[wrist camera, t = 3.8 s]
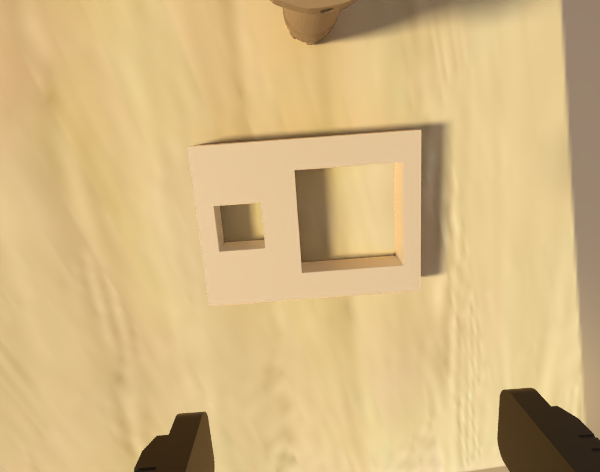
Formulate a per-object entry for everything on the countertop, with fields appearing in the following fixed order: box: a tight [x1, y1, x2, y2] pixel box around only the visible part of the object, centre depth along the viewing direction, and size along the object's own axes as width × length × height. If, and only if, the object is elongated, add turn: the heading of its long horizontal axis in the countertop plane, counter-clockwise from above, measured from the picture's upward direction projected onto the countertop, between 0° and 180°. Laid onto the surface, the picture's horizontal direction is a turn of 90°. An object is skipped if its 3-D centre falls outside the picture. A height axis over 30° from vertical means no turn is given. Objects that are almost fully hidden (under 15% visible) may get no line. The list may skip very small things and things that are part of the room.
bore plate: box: [187, 130, 421, 306], centre depth 37 cm, size 19×14×3 cm
